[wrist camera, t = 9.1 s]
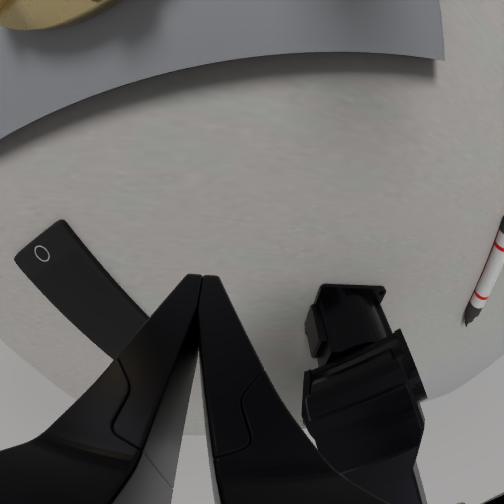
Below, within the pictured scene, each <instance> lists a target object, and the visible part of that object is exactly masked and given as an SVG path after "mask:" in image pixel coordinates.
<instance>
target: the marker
mask: <svg viewBox="0 0 504 504" xmlns="http://www.w3.org/2000/svg"><path fill="white" fill-rule="evenodd" d="M503 264H504V216H503V220H502V223H501V226H500V229H499V231H498V234H497V237H496V239H495V242H494V245H493V248H492V250H491V253H490V256H489V258H488V261H487V263H486V266H485V268H484V270H483V273H482V275H481V278H480V280H479V282H478V284H477V287H476V289H475V291H474V293H473V295H472V297H471V300H470V302H469V304H468V306H467V308H466V311H467V313H466V316H465V325H466V326H467V324H468V323H470V322H472V321H473V319H474V318H475V317H477V316H478V315H479V313H480V311H481V310H482V308H483V306H484V304H485V303H486V301H487V299H488V297H489V295H490V293H491V291H492V288H493V286H494V284H495V282H496V280H497V278H498V276H499V273H500V271H501V269H502V267H503Z"/></svg>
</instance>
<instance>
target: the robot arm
mask: <svg viewBox="0 0 504 504" xmlns="http://www.w3.org/2000/svg"><path fill="white" fill-rule="evenodd" d="M325 289H327V290H325ZM380 291H381V292H380ZM385 293H386V290H385V288H384V287H383V286H367V285H342V284H323V285H321V286H320V288H319V290H318V293H317V296H316V299H315V302H314V304H312V305H311V307H310V310H309V313H308V316H307V319H306V322H305V326H306V328H305V333H306V335H307V336H308V342H309V347H310V352H311V356H312V357H313V358H317V359H318V365H319V367H318V368H316V369H313V370H308V371H305V372H304V381H303V399H302V418H303V424H304V425H305V426H306V427H307V429H308V432H309V433H310V435H311V436H312V437H313V438H314V439H315V441H316V445H317V448H316V447H315V446H314V445H313V443H312V442H311V441H310V439H309V438H308V437H307V435H306V434H305V433H304V431H303V430H302V429H301V427H300V426H299V425H298V423H297V422H296V421H295V419H294V418H293V416H292V415H291V414H290V412H289V411H288V409H287V408H286V406H285V405H284V403H283V402H282V400H281V399H280V397H279V395H278V393H277V392H276V390H275V388H274V386H273V385H272V383H271V381H270V379H269V377H268V375H267V373H266V371H264V368H263V366H262V364H261V362H260V360H259V358H258V356H257V354H256V352H255V350H254V348H253V346H252V344H251V342H250V340H249V338H248V336H247V334H246V332H245V330H244V328H243V326H242V324H241V322H240V319H239V317H238V315H237V313H236V311H235V309H234V307H233V305H232V303H231V301H230V299H229V297H228V295H227V293H226V290H225V288H224V286H223V284H222V282H221V280H220V278H219V277H218V276H215V275H204V276H202V275H200V274H187V275H186V276H185V277H184V278H183V280H182V281H181V282H180V283H179V284H178V285H177V286H176V288H175V289H174V290H173V291H172V292H171V293H170V294H169V296H168V297H167V298H166V299H165V300H164V301H163V303H162V304H161V305H160V306H159V307H158V308H157V310H156V311H155V312H154V313H153V314H152V315H151V317H150V318H149V319H148V320H147V321H146V322H145V324H144V325H143V326H142V327H141V328H140V330H139V331H138V332H137V333H136V334H135V335H134V337H133V338H132V339H131V340H130V341H129V343H128V344H127V345H126V346H125V347H124V349H123V350H122V351H121V352H120V353H119V355H118V358H115V359H114V360H113V362H112V363H111V364H110V365H109V367H108V368H107V369H106V370H105V371H104V372H103V374H102V375H101V376H100V377H99V378H98V379H97V381H96V382H95V383H94V384H93V385H92V386H91V387H90V388H89V389H88V390H87V391H86V392H85V393H84V394H83V395H82V396H81V397H80V398H79V399H78V400H77V401H76V402H75V403H74V404H73V405H72V406H71V407H70V408H69V409H68V410H67V411H66V412H65V413H64V414H62V415H61V417H59V418H58V419H57V420H56V421H55V422H54V423H53V424H52V425H51V426H50V427H49V428H48V429H47V430H46V431H45V432H43V433H42V434H41V435H39V436H38V437H36V438H34V439H33V440H31V441H29V442H26V443H24V444H21V445H17V446H14V447H11V448H8V449H5V450H2V451H0V504H171V499H172V493H173V489H172V488H173V487H174V480H175V475H176V469H177V463H178V457H179V452H180V446H181V441H182V435H183V430H184V424H185V419H186V414H187V409H188V403H189V398H190V393H191V388H192V383H193V378H194V373H195V368H196V363H197V358H198V352H199V359H200V373H201V386H202V398H203V409H204V419H205V429H206V438H207V447H208V456H209V464H210V472H211V479H212V486H213V493H214V501H215V504H427V501H426V497H425V494H424V489H423V485H422V481H421V478H420V474H419V470H418V467H417V463H416V457H417V454H418V450H419V446H420V443H421V439H422V435H423V431H424V424H425V418H424V415H423V412H422V409H421V406H420V403H419V402H421V401H423V400H425V399H427V395H426V392H425V390H424V387H423V384H422V381H421V379H420V376H419V373H418V371H417V368H416V366H415V363H414V361H413V358H412V356H411V353H410V351H409V348H408V346H407V343H406V341H405V339H404V336H403V334H402V332H401V329H398V330H396V331H394V332H395V333H392V331H391V328H390V326H389V323H388V321H387V319H386V316H385V314H384V312H383V309H382V307H381V305H380V303H381V301H382V299H383V297H384V295H385ZM317 449H318V450H317ZM458 504H465V503H458ZM482 504H504V493H502V494H500V495H497V496H495V497H493V498H491V499H489V500H487V501H485V502H483V503H482Z"/></svg>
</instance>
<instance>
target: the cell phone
mask: <svg viewBox="0 0 504 504" xmlns="http://www.w3.org/2000/svg"><path fill="white" fill-rule="evenodd" d="M14 261H15V262H16V264H17V265H18V266H19V268H20V269H21V270H22V271H23V272H24V273H25V274H26V276H27V277H28V278H29V279H30V280H31V281H32V282H33V283H34V285H35V286H36V287H37V288H38V289H39V290H40V291H41V292H42V293H43V294H44V295H45V296H46V297H47V298H48V300H49V301H50V302H51V303H52V304H53V305H54V306H55V307H56V308H57V309H58V310H59V311H60V312H61V313H62V314H63V315H64V316H65V317H66V318H67V319H68V320H70V321H71V322H72V323H73V324H74V325H75V326H76V327H77V328H78V329H79V330H80V331H81V332H82V333H83V334H85V335H86V336H87V337H88V338H89V339H90V340H91V341H92V342H93V343H95V344H96V345H97V346H98V347H99V348H100V349H102V350H103V351H104V352H105V353H106V354H107V355H109V356H110V357H111V358H112V359H113V360H114V359H115V358H118V355H119V353H120V352H121V351H122V350H123V349H124V347H125V346H126V345H127V344H128V343H129V341H130V340H131V339H132V338H133V337H134V335H135V334H136V333H137V332H138V331H139V330H140V328H141V327H142V326H143V325H144V324H145V322H146V321H147V320H148V319H149V317H148V316H147V315H146V313H145V312H144V311H143V310H142V309H141V308H140V307H139V306H138V305H137V304H136V303H135V302H134V301H133V300H132V299H131V298H130V297H129V296H128V294H127V293H126V292H125V291H124V290H123V289H122V288H121V287H120V286H119V285H118V283H117V282H116V281H115V280H114V279H113V278H112V277H111V276H110V274H109V273H108V272H107V271H106V270H105V269H104V268H103V266H102V265H101V264H100V263H99V262H98V261H97V259H96V258H95V257H94V256H93V255H92V253H91V252H90V251H89V250H88V249H87V247H86V246H85V245H84V244H83V242H82V241H81V240H80V239H79V237H78V236H77V235H76V234H75V232H74V231H73V230H72V229H71V227H70V226H69V225H68V223H67V222H66V221H65V220H59V221H57V222H56V223H54V224H53V225H52V226H50V227H49V228H48V229H47V230H45V231H44V232H43V233H41V234H40V235H39V236H38V237H36V238H35V239H34V240H33V241H32V242H30V243H29V244H28V245H27V246H26V247H24V248H23V249H22V250H21V251H20V252H19V253H18V254H17V255H16V256H15V258H14Z"/></svg>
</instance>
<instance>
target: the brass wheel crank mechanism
mask: <svg viewBox="0 0 504 504" xmlns="http://www.w3.org/2000/svg"><path fill="white" fill-rule="evenodd" d="M119 1H121V0H0V25H2V26H4V27H7V28H10V29H15V30H40V29H55V28H61V27H66V26H69V25H72V24H76V23H79V22H81V21H84V20H86V19H89V18H91V17H93V16H95V15H97V14H99V13H101V12H103V11H105V10H106V9H108V8H110V7H111V6H113V5H115V4H116V3H118V2H119Z"/></svg>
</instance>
